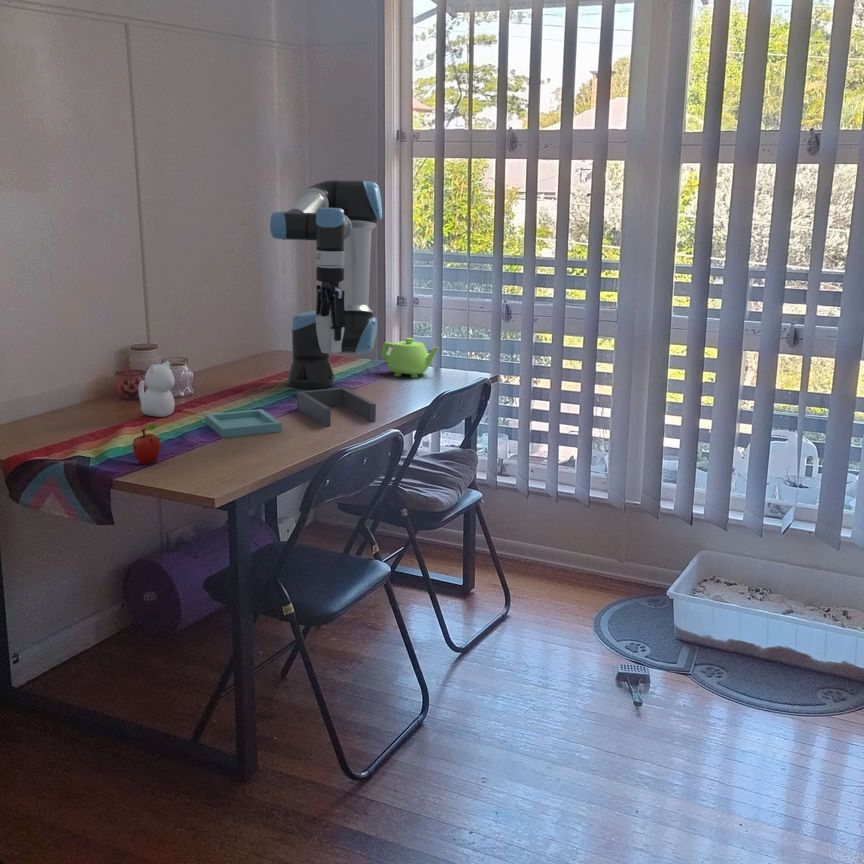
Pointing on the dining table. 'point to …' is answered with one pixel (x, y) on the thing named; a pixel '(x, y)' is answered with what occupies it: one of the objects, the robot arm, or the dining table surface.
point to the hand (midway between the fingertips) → (330, 349)
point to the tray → (243, 423)
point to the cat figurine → (157, 391)
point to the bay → (334, 404)
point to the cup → (325, 332)
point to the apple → (146, 446)
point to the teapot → (408, 357)
